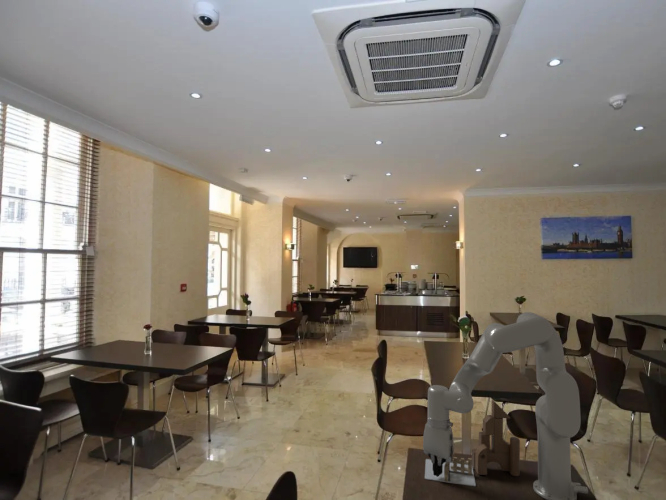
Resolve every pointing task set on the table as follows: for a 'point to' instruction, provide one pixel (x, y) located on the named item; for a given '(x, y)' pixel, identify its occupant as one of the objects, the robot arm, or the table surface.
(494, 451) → the wooden toy
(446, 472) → the beige stepped wooden piece
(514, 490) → the table surface
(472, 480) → the card
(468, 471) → the fence fixed
